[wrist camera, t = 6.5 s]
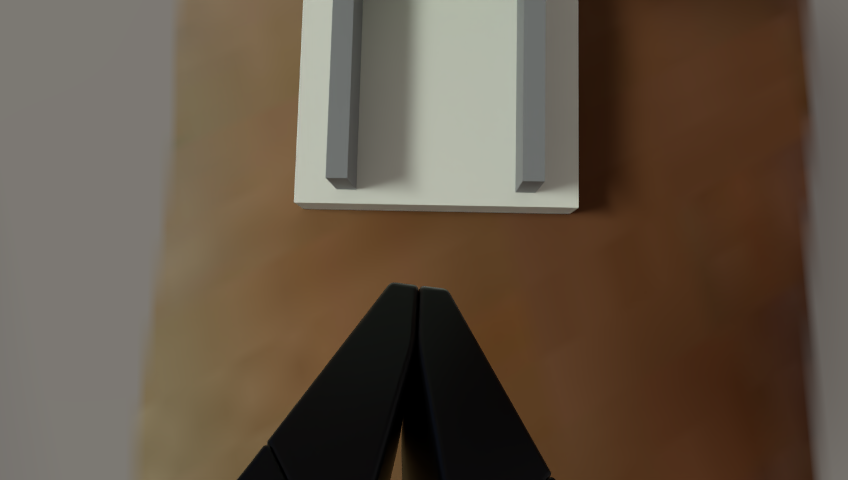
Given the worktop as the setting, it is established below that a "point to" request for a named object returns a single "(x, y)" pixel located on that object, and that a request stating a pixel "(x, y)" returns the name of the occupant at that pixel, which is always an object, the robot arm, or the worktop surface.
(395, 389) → the robot arm
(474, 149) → the housing
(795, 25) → the worktop surface
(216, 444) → the worktop surface
